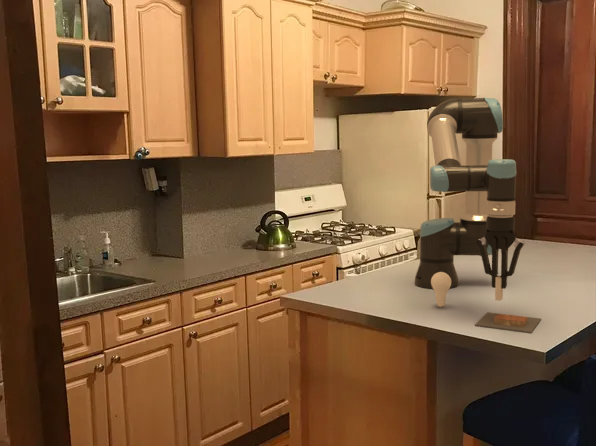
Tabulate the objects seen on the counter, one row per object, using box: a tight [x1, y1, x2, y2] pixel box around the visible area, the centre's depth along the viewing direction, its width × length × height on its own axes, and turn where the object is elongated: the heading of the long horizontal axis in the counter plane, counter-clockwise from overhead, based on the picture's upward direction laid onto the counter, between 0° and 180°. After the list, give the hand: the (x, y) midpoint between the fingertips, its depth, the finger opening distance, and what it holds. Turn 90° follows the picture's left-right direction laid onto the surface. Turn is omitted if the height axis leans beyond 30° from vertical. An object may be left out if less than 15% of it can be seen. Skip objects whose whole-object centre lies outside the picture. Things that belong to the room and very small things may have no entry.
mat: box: [474, 311, 542, 334], centre depth 178 cm, size 15×14×1 cm
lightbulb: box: [431, 272, 451, 308], centre depth 196 cm, size 6×6×11 cm
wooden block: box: [494, 313, 529, 327], centre depth 177 cm, size 2×5×8 cm
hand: (498, 299), depth 178 cm, fingers closed
